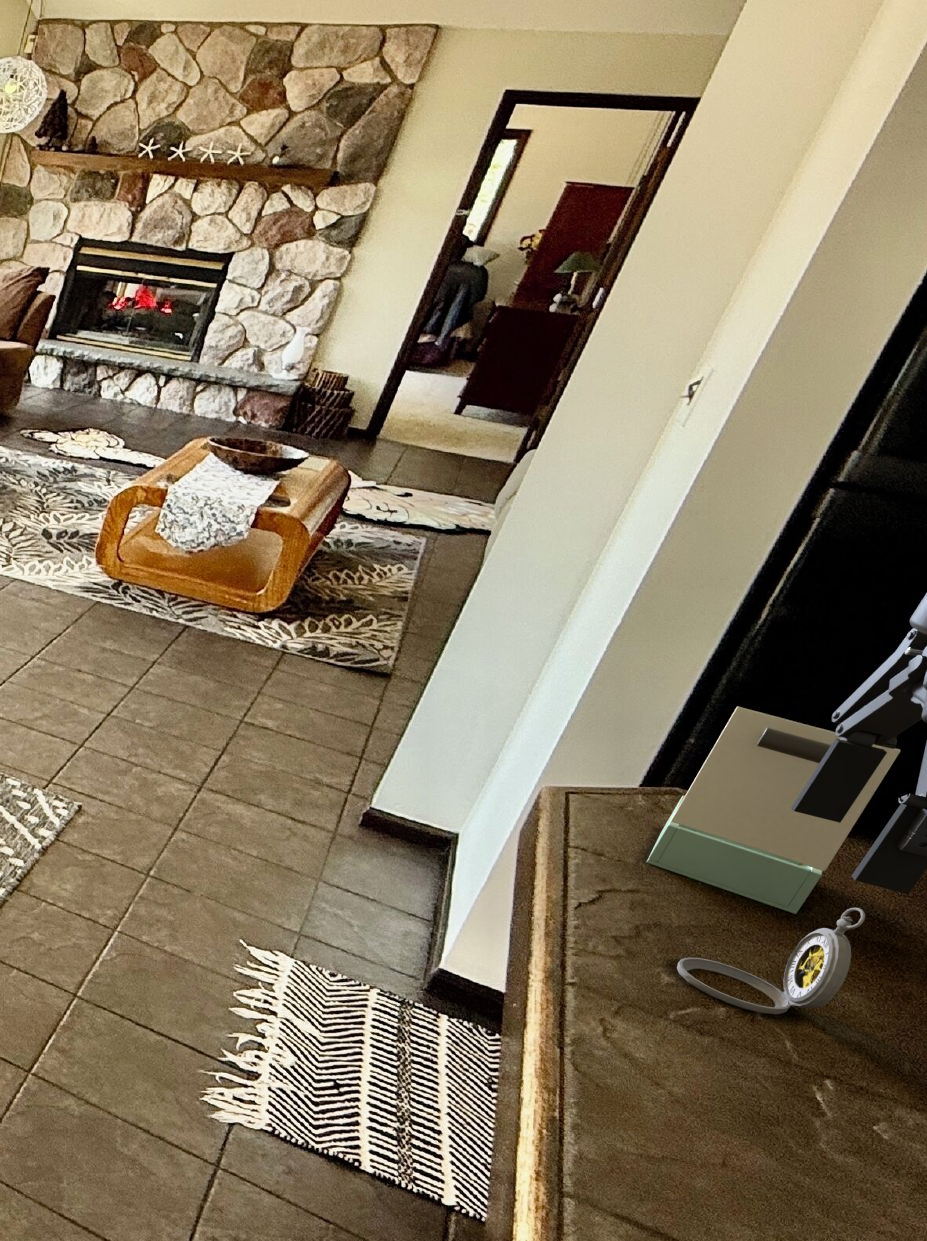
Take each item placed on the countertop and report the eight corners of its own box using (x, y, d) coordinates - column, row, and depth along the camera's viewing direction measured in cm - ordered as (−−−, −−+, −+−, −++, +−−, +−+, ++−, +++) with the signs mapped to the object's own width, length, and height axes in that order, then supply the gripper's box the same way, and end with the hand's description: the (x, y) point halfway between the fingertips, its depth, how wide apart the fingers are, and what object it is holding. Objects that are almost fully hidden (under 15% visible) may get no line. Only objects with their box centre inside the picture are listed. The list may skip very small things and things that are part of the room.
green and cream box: (660, 833, 124) (682, 795, 122) (801, 880, 116) (828, 840, 114) (644, 865, 117) (668, 825, 115) (794, 917, 110) (821, 875, 108)
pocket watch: (651, 963, 100) (712, 865, 96) (748, 972, 100) (813, 874, 96) (747, 1028, 93) (817, 924, 89) (852, 1037, 93) (927, 933, 89)
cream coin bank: (737, 706, 112) (739, 707, 106) (900, 749, 105) (912, 753, 98) (670, 820, 115) (669, 828, 109) (824, 870, 108) (831, 881, 102)
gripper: (874, 544, 94) (732, 775, 102) (1024, 622, 74) (834, 898, 83) (1013, 567, 90) (854, 805, 98) (1209, 655, 71) (991, 941, 79)
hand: (845, 848), depth 91 cm, fingers open, 13 cm apart
